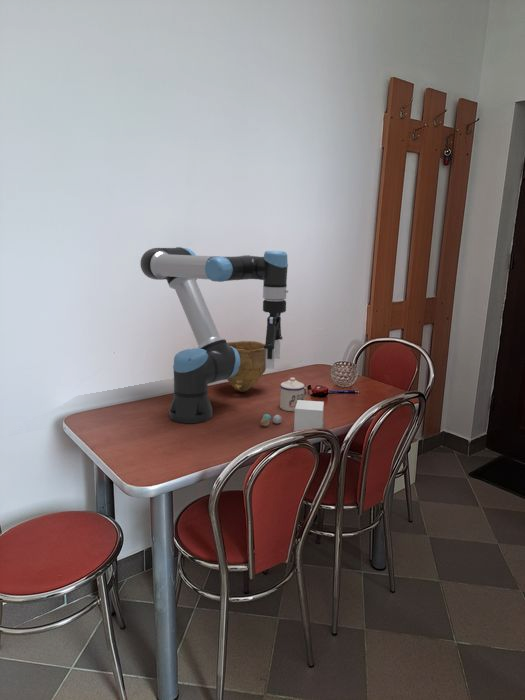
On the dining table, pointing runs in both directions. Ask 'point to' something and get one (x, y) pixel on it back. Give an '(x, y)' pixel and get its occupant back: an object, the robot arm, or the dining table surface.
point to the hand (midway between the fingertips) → (272, 363)
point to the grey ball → (277, 419)
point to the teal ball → (267, 416)
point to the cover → (308, 415)
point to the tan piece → (248, 364)
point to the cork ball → (265, 422)
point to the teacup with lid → (291, 394)
